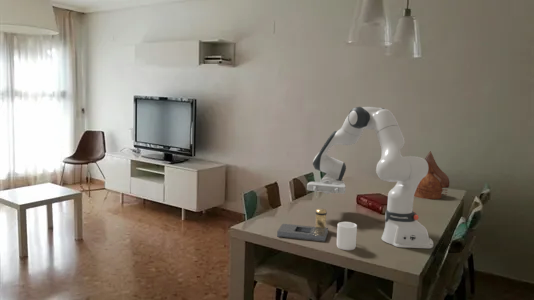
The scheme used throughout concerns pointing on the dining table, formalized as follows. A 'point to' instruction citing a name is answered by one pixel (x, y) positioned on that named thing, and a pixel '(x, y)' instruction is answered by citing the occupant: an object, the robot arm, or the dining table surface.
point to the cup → (346, 235)
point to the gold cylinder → (321, 218)
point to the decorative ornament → (432, 181)
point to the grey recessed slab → (302, 232)
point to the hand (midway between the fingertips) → (324, 190)
